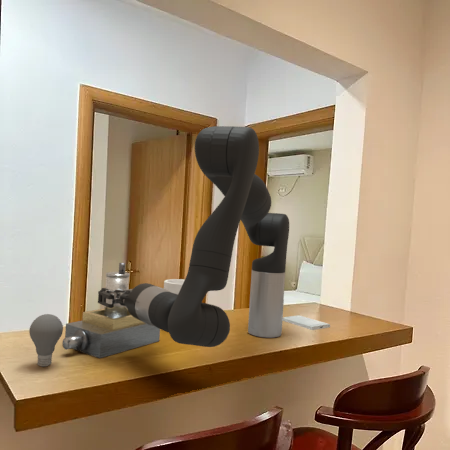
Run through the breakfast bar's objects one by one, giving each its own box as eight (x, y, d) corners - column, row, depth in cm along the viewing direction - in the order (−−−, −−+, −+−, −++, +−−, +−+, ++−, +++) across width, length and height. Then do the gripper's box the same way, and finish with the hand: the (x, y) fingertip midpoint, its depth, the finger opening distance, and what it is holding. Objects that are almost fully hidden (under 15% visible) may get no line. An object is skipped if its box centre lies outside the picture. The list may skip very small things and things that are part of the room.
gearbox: (125, 331, 108) (127, 303, 108) (159, 341, 102) (161, 311, 102) (48, 349, 90) (50, 316, 90) (83, 363, 83) (85, 327, 83)
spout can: (116, 318, 101) (119, 260, 101) (131, 322, 98) (135, 263, 98) (98, 321, 97) (101, 261, 97) (113, 326, 94) (117, 264, 94)
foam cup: (190, 335, 108) (193, 285, 108) (156, 331, 110) (159, 282, 110) (199, 326, 118) (202, 281, 117) (168, 323, 119) (171, 278, 119)
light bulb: (59, 370, 79) (62, 318, 79) (24, 372, 77) (27, 318, 77) (62, 360, 84) (65, 311, 84) (30, 361, 83) (32, 311, 83)
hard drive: (282, 317, 132) (312, 326, 122) (300, 315, 137) (330, 323, 127) (282, 322, 132) (312, 331, 122) (299, 320, 137) (330, 328, 127)
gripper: (184, 284, 87) (149, 274, 100) (120, 288, 79) (90, 276, 92) (182, 320, 87) (147, 305, 100) (118, 327, 79) (88, 310, 92)
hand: (120, 291), depth 96 cm, fingers open, 8 cm apart
